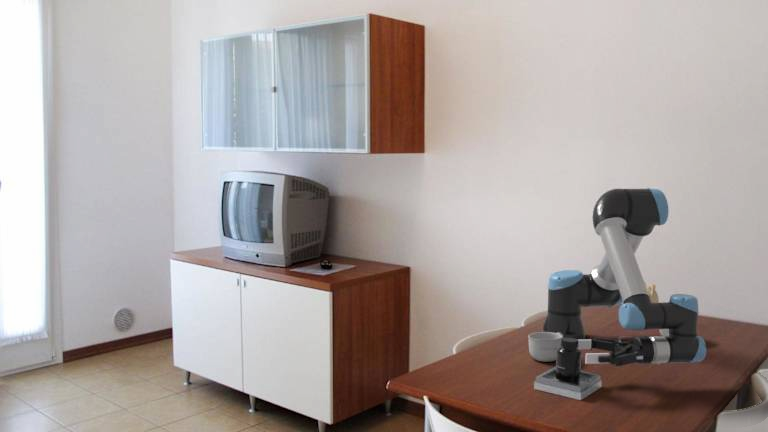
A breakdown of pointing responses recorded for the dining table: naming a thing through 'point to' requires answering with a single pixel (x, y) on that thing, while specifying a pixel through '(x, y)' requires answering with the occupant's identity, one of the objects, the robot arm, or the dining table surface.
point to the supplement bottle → (568, 361)
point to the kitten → (652, 293)
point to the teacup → (544, 345)
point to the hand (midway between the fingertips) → (577, 351)
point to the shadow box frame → (568, 384)
